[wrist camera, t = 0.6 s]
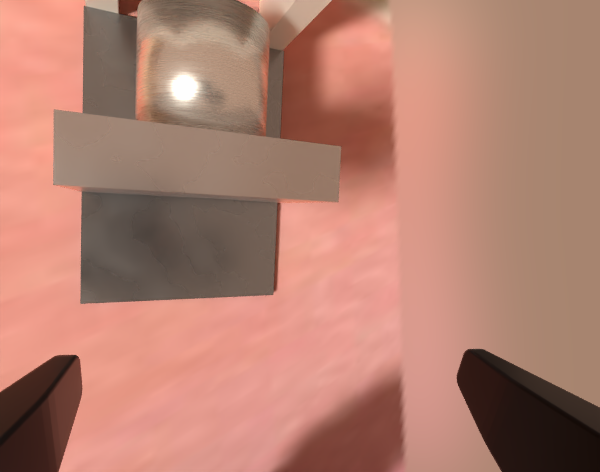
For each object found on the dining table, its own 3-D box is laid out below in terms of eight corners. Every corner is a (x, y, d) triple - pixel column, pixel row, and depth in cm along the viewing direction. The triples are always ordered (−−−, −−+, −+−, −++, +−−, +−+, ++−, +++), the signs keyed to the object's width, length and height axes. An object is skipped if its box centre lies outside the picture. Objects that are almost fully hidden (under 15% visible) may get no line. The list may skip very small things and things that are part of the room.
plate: (271, 293, 25) (273, 294, 25) (81, 301, 21) (80, 303, 21) (281, 53, 24) (284, 51, 24) (84, 9, 20) (84, 5, 20)
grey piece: (280, 202, 24) (338, 202, 17) (80, 191, 20) (53, 184, 13) (285, 73, 24) (347, 19, 17) (82, 31, 19) (55, -63, 12)
